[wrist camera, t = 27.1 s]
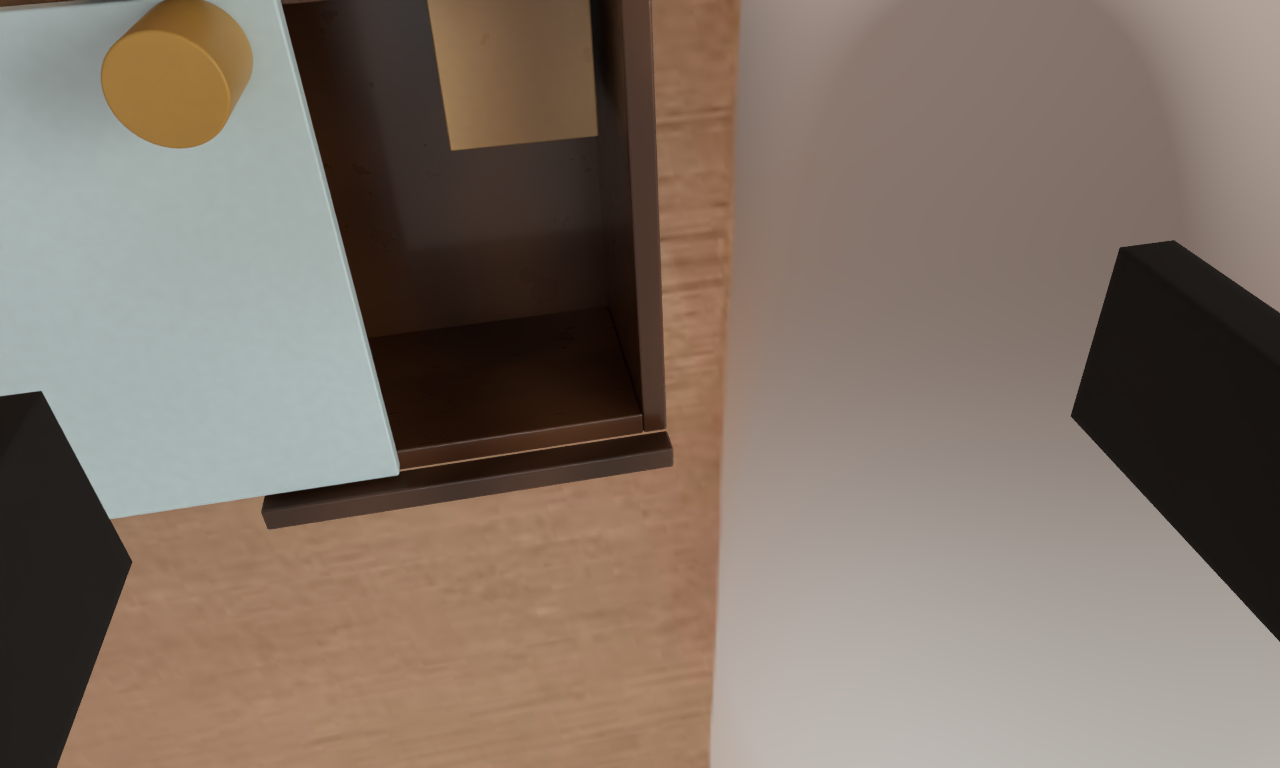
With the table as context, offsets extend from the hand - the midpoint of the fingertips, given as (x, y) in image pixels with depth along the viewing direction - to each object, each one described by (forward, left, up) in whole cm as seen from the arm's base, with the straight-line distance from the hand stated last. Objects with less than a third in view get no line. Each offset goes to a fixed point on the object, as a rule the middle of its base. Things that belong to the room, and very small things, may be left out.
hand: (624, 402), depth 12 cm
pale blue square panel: (+12, +5, -14) cm, 19 cm away
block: (0, +1, -22) cm, 22 cm away
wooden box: (+3, +5, -22) cm, 23 cm away
